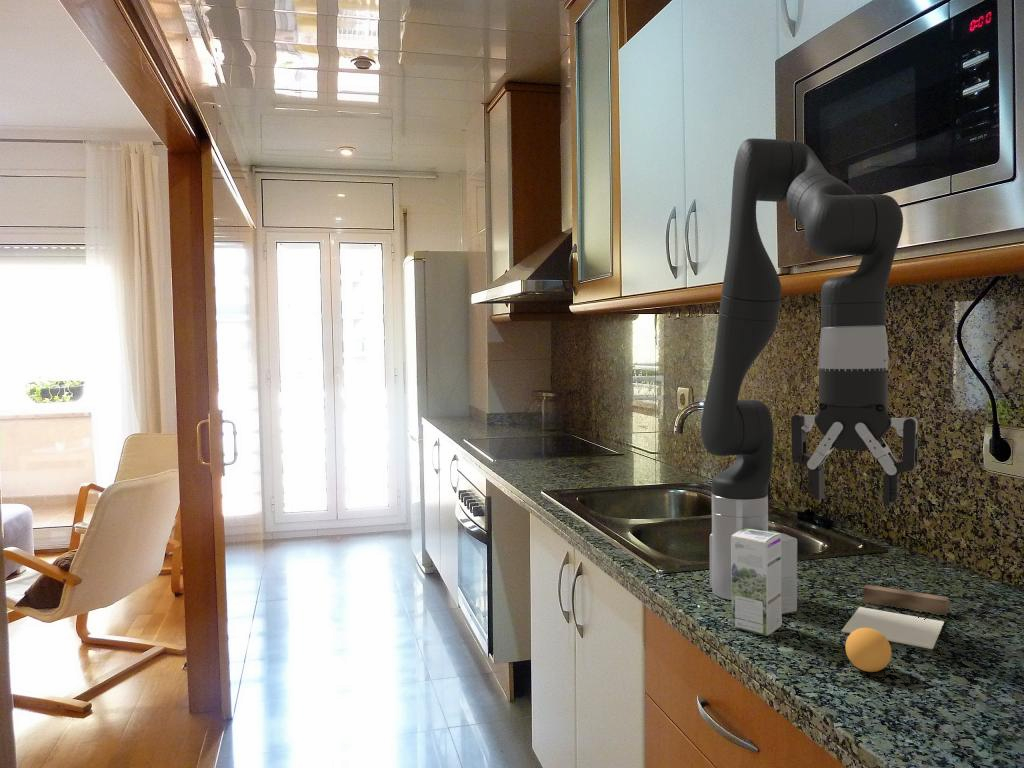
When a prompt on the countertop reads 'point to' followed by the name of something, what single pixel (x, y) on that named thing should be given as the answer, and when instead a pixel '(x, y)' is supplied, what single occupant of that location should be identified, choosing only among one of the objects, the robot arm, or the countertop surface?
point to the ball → (868, 649)
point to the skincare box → (788, 573)
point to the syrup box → (756, 581)
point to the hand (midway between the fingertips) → (852, 502)
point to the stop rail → (905, 599)
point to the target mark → (897, 627)
